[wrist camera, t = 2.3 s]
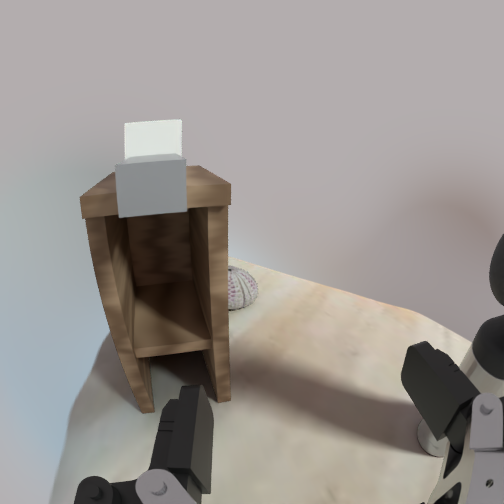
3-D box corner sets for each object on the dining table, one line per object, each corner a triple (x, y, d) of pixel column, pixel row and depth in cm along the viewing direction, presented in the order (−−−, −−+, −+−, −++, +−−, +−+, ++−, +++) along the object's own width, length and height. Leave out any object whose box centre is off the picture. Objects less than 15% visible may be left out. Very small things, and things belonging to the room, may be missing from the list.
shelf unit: (205, 327, 55) (198, 165, 43) (232, 405, 37) (231, 184, 25) (138, 335, 51) (113, 171, 38) (142, 418, 33) (79, 197, 20)
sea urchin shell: (197, 289, 69) (195, 260, 66) (247, 282, 74) (248, 254, 71) (209, 319, 58) (207, 287, 55) (267, 309, 62) (269, 278, 59)
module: (174, 172, 34) (173, 127, 31) (195, 210, 16) (196, 106, 13) (136, 175, 32) (135, 129, 30) (110, 218, 14) (105, 112, 12)
